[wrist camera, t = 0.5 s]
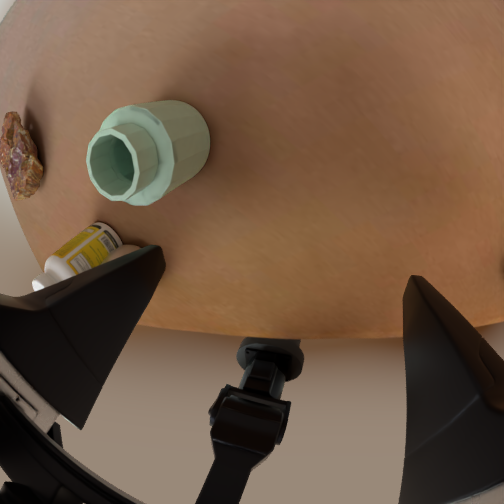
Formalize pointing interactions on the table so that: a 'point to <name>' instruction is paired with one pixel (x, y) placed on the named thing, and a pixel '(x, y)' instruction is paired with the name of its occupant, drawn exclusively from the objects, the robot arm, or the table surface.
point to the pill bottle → (78, 255)
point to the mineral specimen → (19, 158)
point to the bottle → (147, 151)
